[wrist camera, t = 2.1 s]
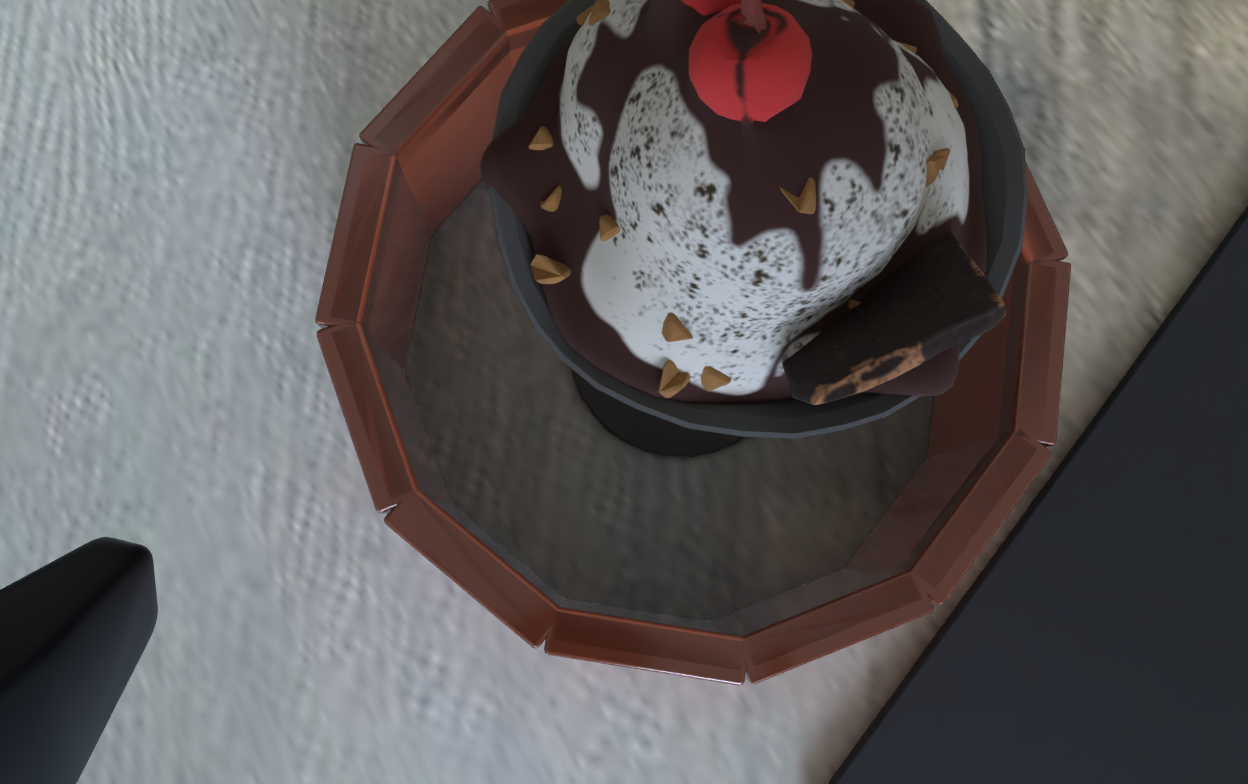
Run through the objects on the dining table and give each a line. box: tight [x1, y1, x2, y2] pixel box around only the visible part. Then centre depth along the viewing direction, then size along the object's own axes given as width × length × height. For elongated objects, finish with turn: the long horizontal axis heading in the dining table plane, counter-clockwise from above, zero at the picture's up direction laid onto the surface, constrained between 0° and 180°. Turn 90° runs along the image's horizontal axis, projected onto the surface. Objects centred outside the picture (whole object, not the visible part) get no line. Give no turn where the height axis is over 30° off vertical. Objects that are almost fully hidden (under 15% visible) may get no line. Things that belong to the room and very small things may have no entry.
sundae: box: [480, 0, 1028, 457], centre depth 15 cm, size 7×7×15 cm
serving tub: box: [315, 0, 1071, 685], centre depth 20 cm, size 13×13×4 cm
